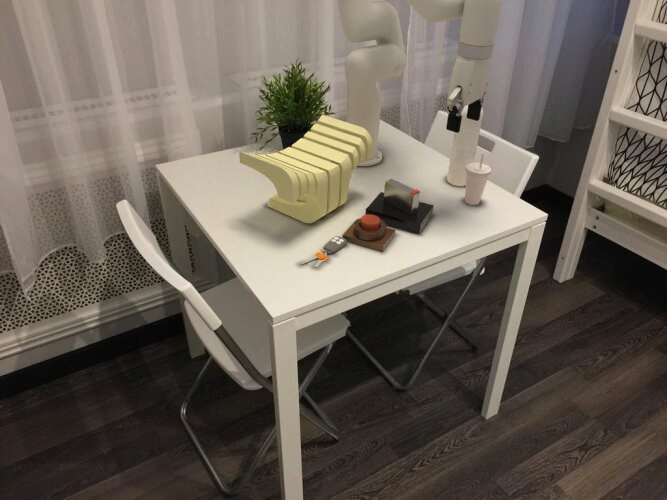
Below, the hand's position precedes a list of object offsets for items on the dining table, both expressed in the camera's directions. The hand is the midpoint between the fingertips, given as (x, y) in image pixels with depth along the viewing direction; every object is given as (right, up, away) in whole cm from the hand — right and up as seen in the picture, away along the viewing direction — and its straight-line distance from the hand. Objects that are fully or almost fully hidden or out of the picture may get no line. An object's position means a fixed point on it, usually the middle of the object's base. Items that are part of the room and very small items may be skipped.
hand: (462, 124), depth 138 cm
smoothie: (+6, -17, +16) cm, 24 cm away
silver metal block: (-14, -19, +6) cm, 24 cm away
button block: (-22, -26, -1) cm, 34 cm away
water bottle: (+4, -10, +26) cm, 28 cm away
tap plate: (-14, -21, +7) cm, 27 cm away
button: (-22, -24, -2) cm, 32 cm away
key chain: (-32, -30, -7) cm, 45 cm away
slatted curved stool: (-37, -18, +10) cm, 42 cm away
